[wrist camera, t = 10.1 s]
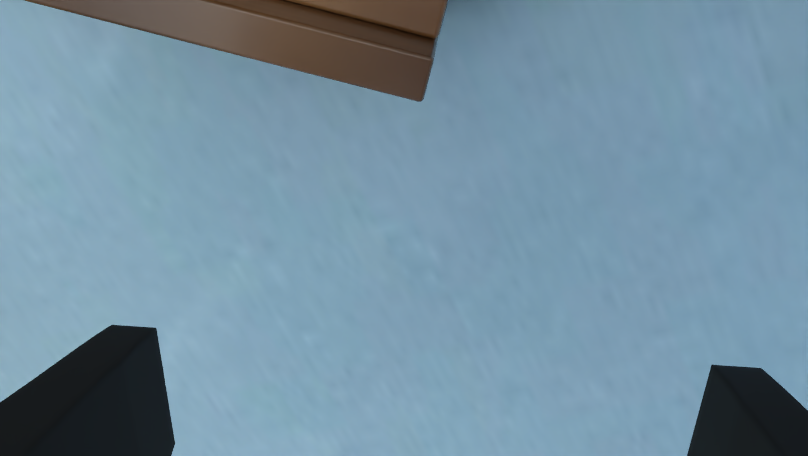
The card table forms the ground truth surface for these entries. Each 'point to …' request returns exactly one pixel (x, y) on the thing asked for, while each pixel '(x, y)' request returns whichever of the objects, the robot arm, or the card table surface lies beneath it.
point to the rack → (297, 34)
